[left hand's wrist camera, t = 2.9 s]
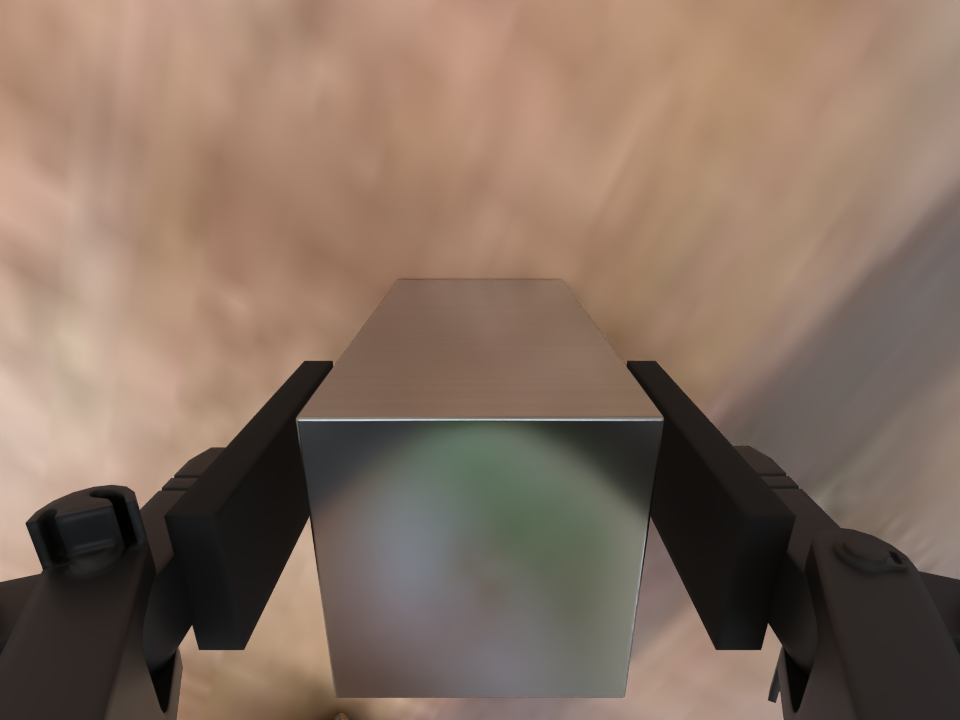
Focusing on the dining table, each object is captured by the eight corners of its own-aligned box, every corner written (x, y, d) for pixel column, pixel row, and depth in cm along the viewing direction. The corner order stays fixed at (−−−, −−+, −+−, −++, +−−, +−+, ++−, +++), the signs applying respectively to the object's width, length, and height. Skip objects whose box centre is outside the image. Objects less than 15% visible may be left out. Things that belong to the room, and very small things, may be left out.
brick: (562, 279, 16) (666, 417, 7) (553, 437, 18) (625, 699, 9) (397, 279, 16) (294, 417, 7) (406, 437, 18) (334, 699, 9)
